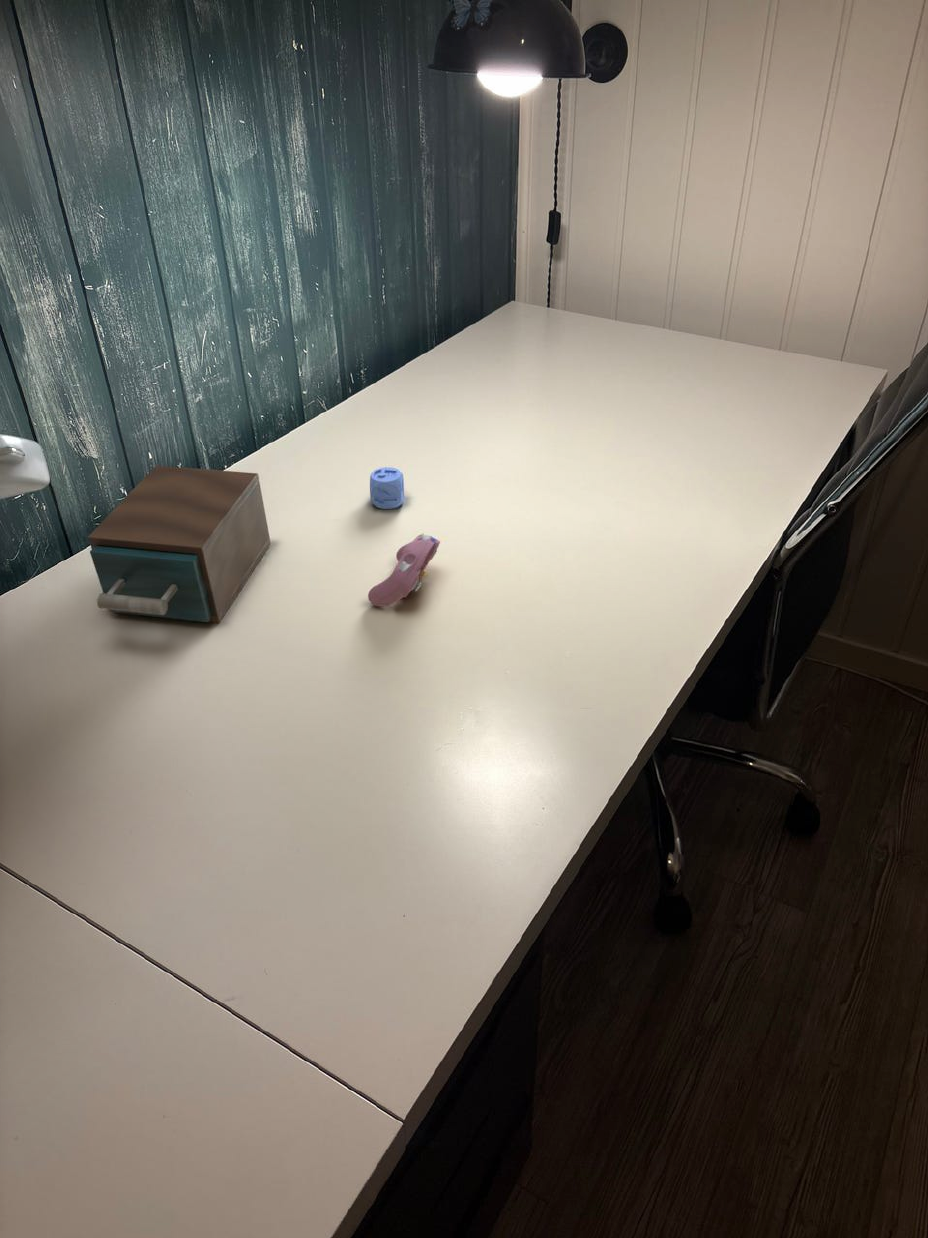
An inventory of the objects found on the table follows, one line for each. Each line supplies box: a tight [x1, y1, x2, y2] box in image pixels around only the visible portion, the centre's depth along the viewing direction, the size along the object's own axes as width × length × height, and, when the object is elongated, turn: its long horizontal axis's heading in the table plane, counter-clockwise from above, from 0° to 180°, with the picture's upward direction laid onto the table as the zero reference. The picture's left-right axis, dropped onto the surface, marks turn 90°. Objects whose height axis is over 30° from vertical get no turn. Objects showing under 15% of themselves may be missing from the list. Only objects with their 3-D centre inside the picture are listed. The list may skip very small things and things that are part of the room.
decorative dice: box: [369, 466, 405, 510], centre depth 118 cm, size 4×4×4 cm
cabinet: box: [87, 465, 272, 624], centre depth 104 cm, size 16×13×10 cm
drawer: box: [89, 546, 212, 623], centre depth 101 cm, size 19×12×8 cm, turn 169°
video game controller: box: [367, 532, 441, 607], centre depth 102 cm, size 10×5×7 cm, turn 161°
